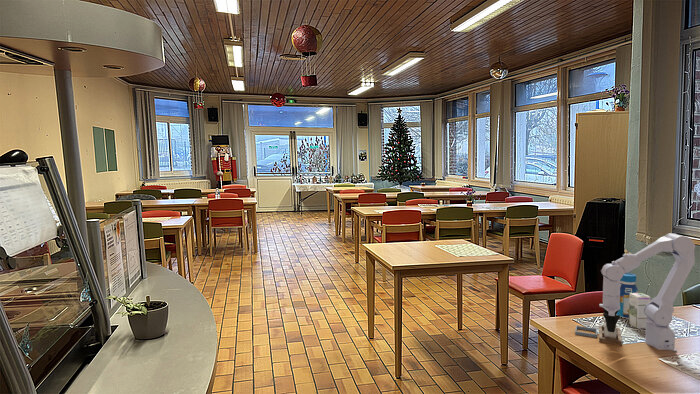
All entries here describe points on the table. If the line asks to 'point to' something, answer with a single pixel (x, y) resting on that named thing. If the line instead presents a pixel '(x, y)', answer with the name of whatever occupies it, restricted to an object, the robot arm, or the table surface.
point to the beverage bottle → (626, 293)
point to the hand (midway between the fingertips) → (610, 328)
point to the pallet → (607, 340)
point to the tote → (587, 330)
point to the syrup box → (638, 309)
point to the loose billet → (610, 333)
